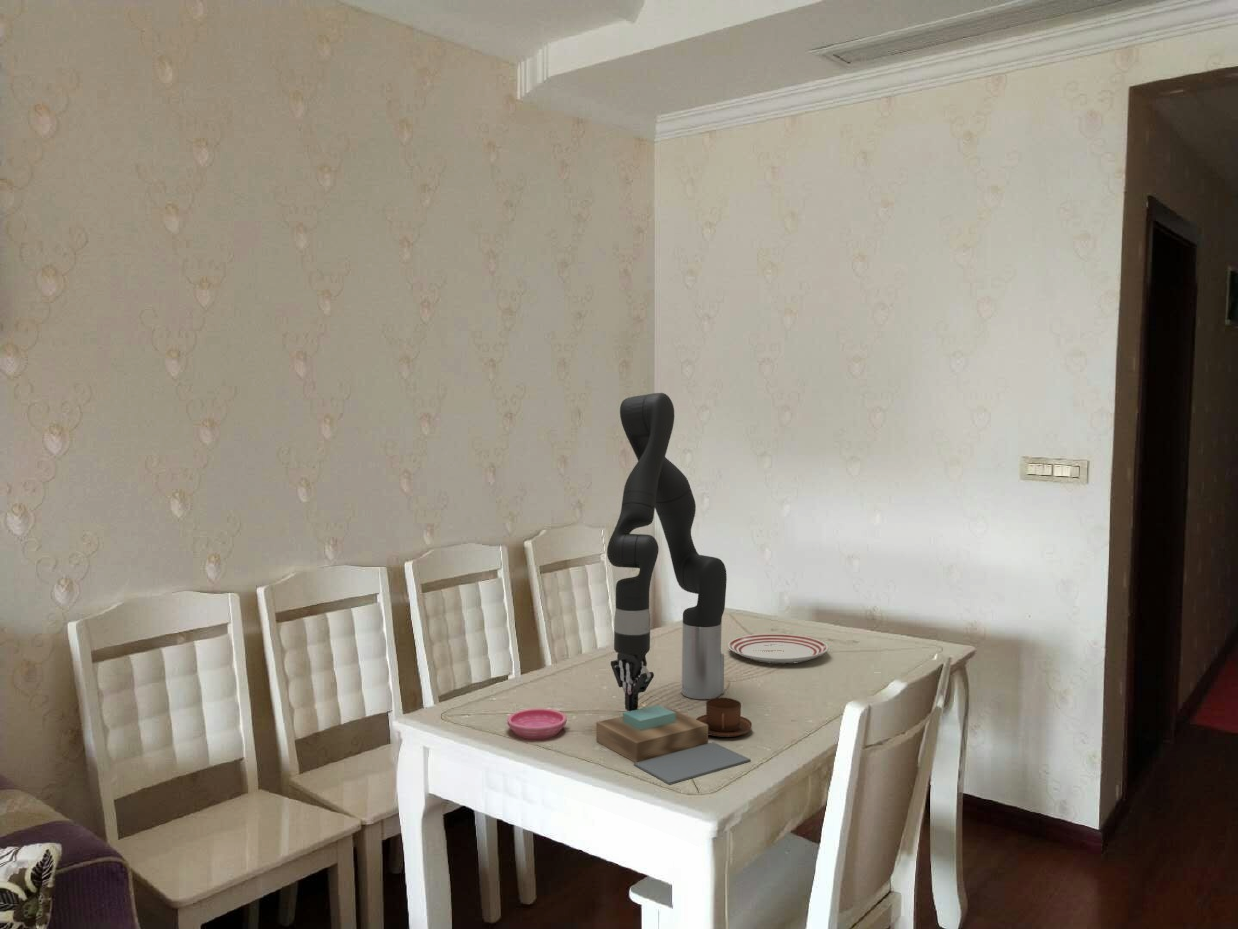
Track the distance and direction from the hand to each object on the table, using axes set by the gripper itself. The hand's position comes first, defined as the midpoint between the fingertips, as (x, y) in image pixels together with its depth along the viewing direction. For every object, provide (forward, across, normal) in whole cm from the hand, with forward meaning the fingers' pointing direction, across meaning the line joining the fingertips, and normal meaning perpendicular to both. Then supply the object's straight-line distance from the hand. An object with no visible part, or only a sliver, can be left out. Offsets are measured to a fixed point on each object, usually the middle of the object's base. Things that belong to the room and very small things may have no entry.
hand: (631, 710), depth 197 cm
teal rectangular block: (+1, -6, 0) cm, 6 cm away
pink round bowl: (+5, +12, +16) cm, 20 cm away
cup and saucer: (+5, -10, -17) cm, 20 cm away
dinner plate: (+5, +28, -69) cm, 74 cm away
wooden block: (+5, -7, 0) cm, 9 cm away
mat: (+5, -20, 0) cm, 21 cm away
